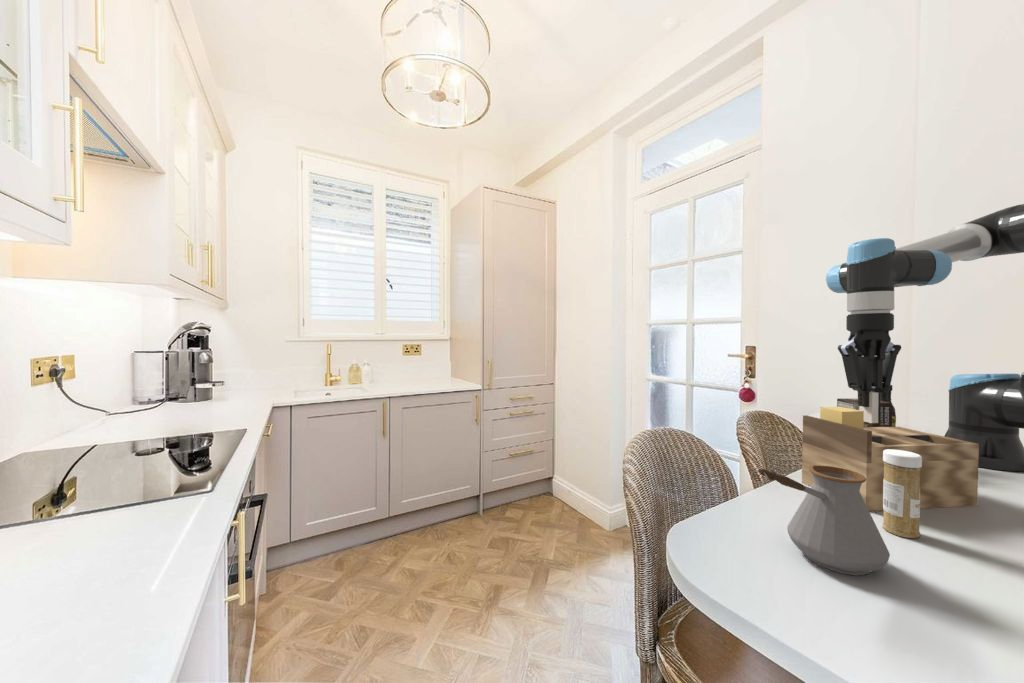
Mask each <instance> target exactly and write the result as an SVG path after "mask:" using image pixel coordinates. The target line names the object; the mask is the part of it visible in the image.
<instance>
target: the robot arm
mask: <svg viewBox="0 0 1024 683" xmlns="http://www.w3.org/2000/svg"><path fill="white" fill-rule="evenodd" d="M1021 253H1024V203H1023V204H1017V205H1014V206H1013V205H1012V206H1008V207H1006V208H1003V209H1000V210H997V211H995V212H991V213H988V214H987V215H984V216H981V217H979V218H976V219H973V220H970V221H968V222H964V223H962V224H958V225H956V226H954V227H952V228H951V229H949V230H948V232H945V233H944V234H943V233H942V234H940V235H936V236H932V237H930V238H927V239H923V240H919V241H917V242H913V243H910V244H907V245H904V246H903V245H902V246H900V247H896V244H895V240H894V239H892V238H887V237H886V238H885V237H881V238H879V237H878V238H870V239H864V240H860V241H856V242H853V243H851V244H850V245H849V246H848V248H847V254H846V262H843V263H841V264H838V265H834V266H832V267H831V268H829V270H828V271H827V273H826V276H825V282H826V285H827V288H828V289H829V290H830V291H832V292H833V293H837V294H846V311H847V313H850V314H847V315H846V322H845V323H846V325H845V326H846V331H848V332H850V333H849V336H848V338H847V341H848V342H846V343H845V344H839V345H838V346H837V350H838V351H839V354H840V355H841V357H842V363H843V368H844V373H845V377H846V382H847V386H848V388H849V389H852V390H853V391H857V399H858V406H859V410H860V411H864V422H869V423H878V407H879V405H880V392H882V393H885V392H886V390H884V389H889V388H890V385H892V380H893V374H894V371H895V366H896V363H897V362H896V361H897V356H898V355H899V353H900V351H901V350H902V346H901V344H894V343H893V342H891V341H892V339H891V336H890V333H889V332H890V331H893V330H894V328H895V314H894V313H891V311H895V288H899V287H900V288H901V287H910V286H917V287H924V286H932V285H937V284H939V283H941V282H943V281H945V280H946V279H947V277H949V275H950V274H951V272H952V268H953V264H952V263H955V262H956V263H957V262H958V261H960V262H971V261H975V260H979V259H982V258H990V257H995V256H997V257H998V256H1006V255H1014V254H1015V255H1016V254H1021ZM1020 429H1023V430H1024V371H1022V372H1021V374H1019V373H964V374H963V373H962V374H955V375H953V376H952V377H951V378H950V380H949V388H948V427H947V430H946V432H945V434H944V435H943V436H944V437H949V438H954V439H958V440H963V441H967V442H972V443H977V444H979V457H978V468H984V469H990V470H998V471H1008V472H1024V444H1023V442H1022V440H1021V438H1020Z"/></svg>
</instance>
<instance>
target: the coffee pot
mask: <svg viewBox="0 0 1024 683" xmlns="http://www.w3.org/2000/svg"><path fill="white" fill-rule="evenodd" d="M809 471H810V472H811V473H812V474H813V478H814V483H813V485H812V487H811V486H807V485H805V484H803V483H800V482H799V481H797V480H794V479H792V478H791V477H788V476H787V475H782V474H778V473H777V472H775V471H773V470H770V471H769V470H768V469H763V468H760V469H756V470H753V471H752V472H751V473H750V477H751V478H750V479H751V480H752V481H753V482H754V483H755V484H757V485H764V484H766V483H767V482H768V481H769V480H770V481H776V482H778V483H779V484H781V486H782V485H783V486H785V487H789V488H792V489H795V490H798V491H801V492H804V493H806V495H805V496H804V498H803V500H802V501H801V503H800V505H799V507H798V508H797V510H796V511H795V513H794V515H793V516H792V517H791V519H790V521H789V523H788V525H787V528H786V529H787V534H788V536H789V538H790V540H791V542H793V544H794V546H796V548H797V549H798V550H800V551H801V552H802V553H803V555H804V556H805V558H807V559H808V560H810V561H811V562H813V563H814V564H816V565H818V566H821V567H823V568H825V569H828V570H830V571H834V572H837V573H840V574H844V575H845V574H846V575H852V576H864V575H868V574H870V573H871V572H875V571H877V570H880V569H882V568H884V567H885V566H886V565H887V563H888V562H889V560H890V556H891V555H890V551H889V549H888V547H887V545H886V543H885V541H884V539H883V536H882V535H881V533H880V531H879V529H878V527H877V524H876V522H875V521H874V519H873V516H872V514H871V511H869V510H868V508H867V506H866V504H865V502H864V500H863V498H862V496H861V494H860V487H861V484H862V483H864V482H865V481H866V478H865V476H863V475H862V474H860V473H857V472H854V471H851V470H848V469H844V468H839V467H833V466H823V465H811V466H810V467H809ZM755 472H758V473H760V475H762V476H764V477H765V480H764V482H761V483H760V482H757V481H755V480H754V477H753V475H754V473H755ZM768 479H769V480H768Z"/></svg>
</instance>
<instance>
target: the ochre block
mask: <svg viewBox="0 0 1024 683" xmlns="http://www.w3.org/2000/svg"><path fill="white" fill-rule="evenodd" d="M819 411H820V412H819V414H820V415H819V416H820V417H819V418H820V419H824V420H828V421H832V422H836V423H840V424H844V425H848V426H853V427H857V428H861V429H863V427H864V411H860V410H855V409H850V408H845V407H837V406H823V407H820V409H819Z"/></svg>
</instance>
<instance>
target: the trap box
mask: <svg viewBox="0 0 1024 683" xmlns="http://www.w3.org/2000/svg"><path fill="white" fill-rule="evenodd" d="M944 436H945V435H940V434H935V433H930V432H927V431H921V430H917V429H912V428H907V427H902V426H896V427H863V429H861V428H857V427H853V426H848V425H844V424H840V423H836V422H832V421H828V420H824V419H820V417H814V416H811V415H802V445H801V446H802V447H801V448H802V450H801V451H802V453H801V455H802V456H801V464H802V465H801V484H803V485H805V486H808V487H810V488H811V487H812V485H813V483H814V478H813V474H812V473H811V472H810V471H809V467H810V466H811V465H823V466H833V467H839V468H844V469H848V470H851V471H854V472H857V473H860V474H862V475H863V476H865V478H866V481H865V482H864V483H862V484H861V487H860V494H861V496H862V498H863V500H864V502H865V504H866V506H867V508H868V510H869V512H873V511H875V512H876V511H884V509H883V479H884V463H883V462H884V461H883V451H884V450H887V449H894V450H903V451H908V452H913V453H916V454H919V455H920V456H921V457H922V467H921V469H920V509H935V508H953V507H956V508H957V507H960V508H961V507H977V506H978V496H979V495H978V491H979V489H978V488H979V487H978V486H979V467H978V457H979V444H977V443H972V442H967V441H963V440H958V439H954V438H949V437H944Z"/></svg>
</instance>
